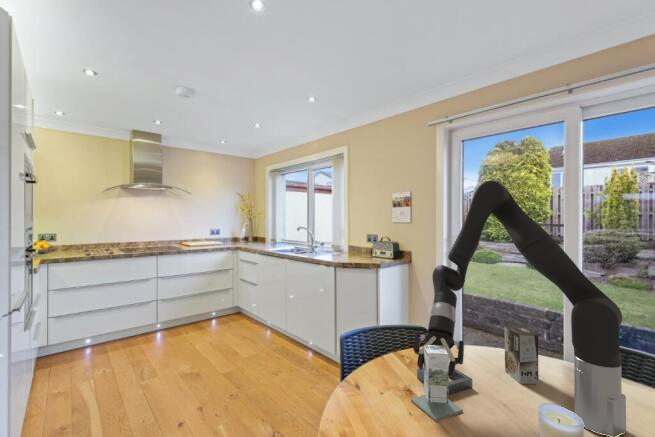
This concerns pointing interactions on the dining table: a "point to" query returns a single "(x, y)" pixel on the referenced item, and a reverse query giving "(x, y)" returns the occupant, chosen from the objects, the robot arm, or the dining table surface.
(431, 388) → the syrup box
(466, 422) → the dining table surface
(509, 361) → the coffee box
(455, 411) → the slate coaster
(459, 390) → the socket block
